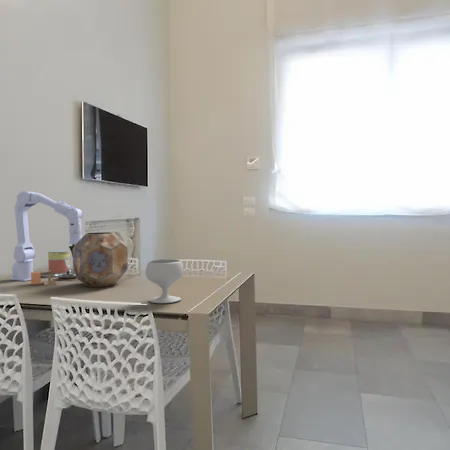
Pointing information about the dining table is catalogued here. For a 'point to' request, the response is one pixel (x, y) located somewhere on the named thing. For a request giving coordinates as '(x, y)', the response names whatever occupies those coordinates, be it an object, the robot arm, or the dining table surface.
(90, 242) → the planter
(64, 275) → the handwheel
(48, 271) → the eye post
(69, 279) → the wheel mount
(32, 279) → the hook rod
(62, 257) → the canned food
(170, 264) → the chalice
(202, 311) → the dining table surface
